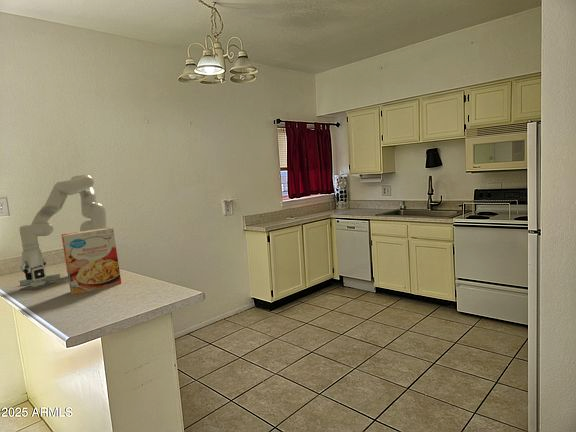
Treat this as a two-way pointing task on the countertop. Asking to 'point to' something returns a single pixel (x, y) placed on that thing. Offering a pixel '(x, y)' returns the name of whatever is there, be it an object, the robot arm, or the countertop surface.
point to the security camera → (38, 275)
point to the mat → (36, 286)
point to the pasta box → (91, 260)
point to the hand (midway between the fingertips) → (36, 277)
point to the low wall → (48, 278)
